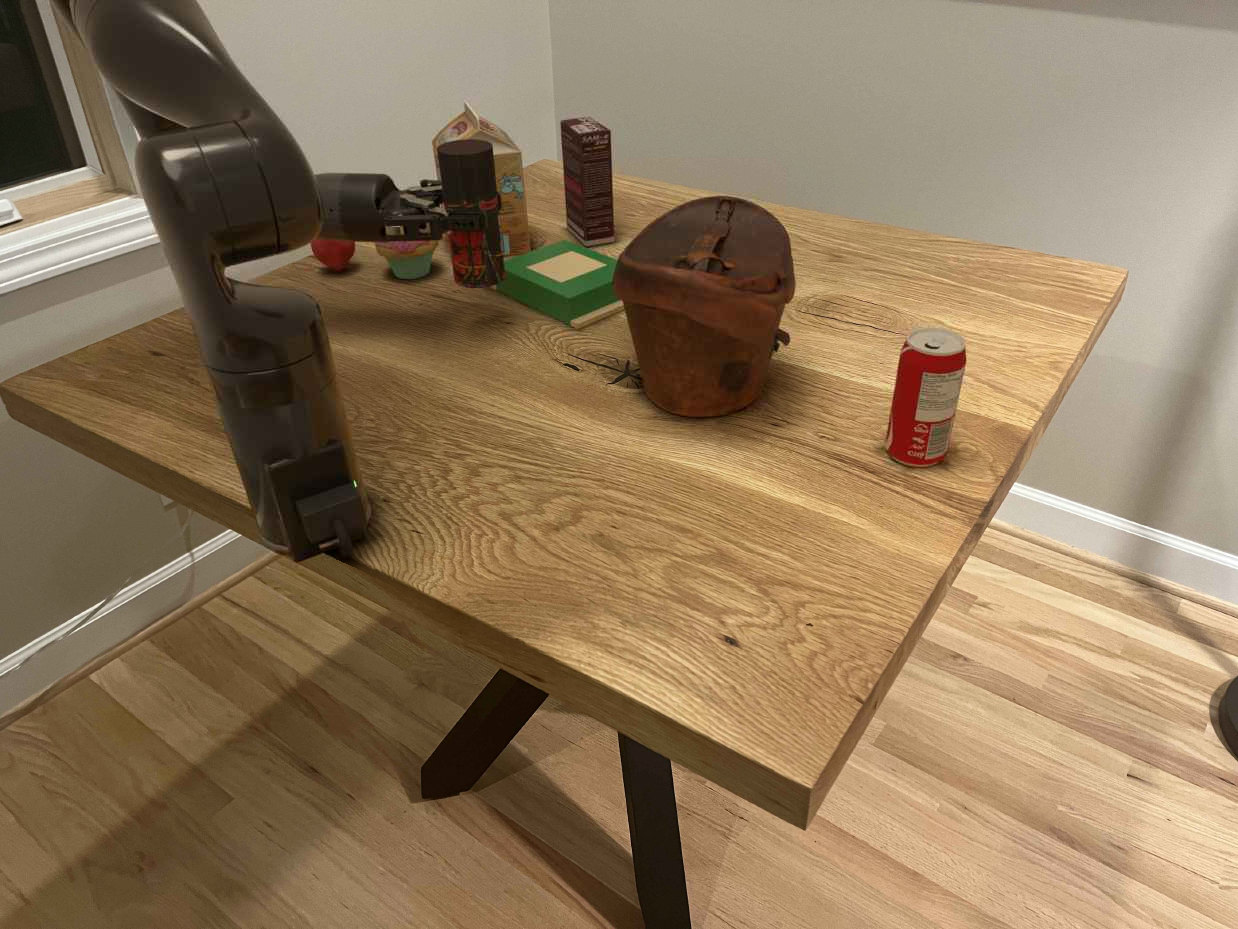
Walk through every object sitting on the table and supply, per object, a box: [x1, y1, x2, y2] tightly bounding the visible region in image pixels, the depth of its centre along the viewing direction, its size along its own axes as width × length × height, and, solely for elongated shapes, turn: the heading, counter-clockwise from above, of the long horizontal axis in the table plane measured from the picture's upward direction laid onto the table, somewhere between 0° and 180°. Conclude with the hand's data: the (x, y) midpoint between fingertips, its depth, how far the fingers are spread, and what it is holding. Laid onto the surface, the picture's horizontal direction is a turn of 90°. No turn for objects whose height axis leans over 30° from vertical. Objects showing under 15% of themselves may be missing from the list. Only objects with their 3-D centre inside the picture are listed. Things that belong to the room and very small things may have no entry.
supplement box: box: [559, 116, 615, 247], centre depth 129 cm, size 9×5×16 cm, turn 22°
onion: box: [310, 238, 356, 272], centre depth 123 cm, size 6×6×8 cm
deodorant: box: [437, 139, 505, 289], centre depth 101 cm, size 6×6×15 cm
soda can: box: [884, 326, 967, 468], centre depth 81 cm, size 6×6×12 cm
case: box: [612, 195, 797, 418], centre depth 90 cm, size 18×20×18 cm
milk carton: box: [431, 100, 532, 257], centre depth 126 cm, size 11×10×19 cm
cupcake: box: [374, 240, 440, 280], centre depth 121 cm, size 9×8×12 cm
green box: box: [490, 239, 625, 330], centre depth 116 cm, size 18×12×4 cm
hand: (493, 211), depth 100 cm, fingers closed on deodorant, 6 cm apart
